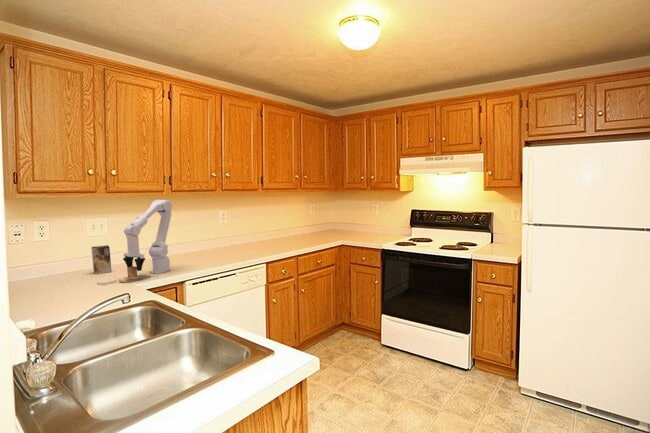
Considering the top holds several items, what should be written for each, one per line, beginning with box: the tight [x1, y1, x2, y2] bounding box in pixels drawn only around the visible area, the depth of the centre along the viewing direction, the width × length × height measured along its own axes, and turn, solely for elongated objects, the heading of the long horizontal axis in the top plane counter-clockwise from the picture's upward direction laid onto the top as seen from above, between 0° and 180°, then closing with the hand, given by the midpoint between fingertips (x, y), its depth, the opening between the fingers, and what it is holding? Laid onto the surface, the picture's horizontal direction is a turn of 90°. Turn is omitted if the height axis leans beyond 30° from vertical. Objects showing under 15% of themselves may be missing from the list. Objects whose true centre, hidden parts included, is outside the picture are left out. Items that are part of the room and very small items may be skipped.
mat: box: [126, 274, 152, 283], centre depth 209 cm, size 14×9×1 cm, turn 155°
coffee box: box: [91, 244, 112, 275], centre depth 225 cm, size 9×6×16 cm
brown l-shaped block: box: [118, 265, 139, 283], centre depth 205 cm, size 9×4×7 cm, turn 155°
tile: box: [96, 278, 117, 286], centre depth 201 cm, size 2×6×7 cm
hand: (134, 270), depth 209 cm, fingers open, 7 cm apart
